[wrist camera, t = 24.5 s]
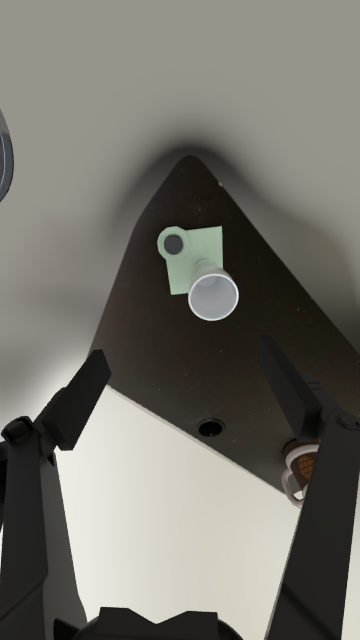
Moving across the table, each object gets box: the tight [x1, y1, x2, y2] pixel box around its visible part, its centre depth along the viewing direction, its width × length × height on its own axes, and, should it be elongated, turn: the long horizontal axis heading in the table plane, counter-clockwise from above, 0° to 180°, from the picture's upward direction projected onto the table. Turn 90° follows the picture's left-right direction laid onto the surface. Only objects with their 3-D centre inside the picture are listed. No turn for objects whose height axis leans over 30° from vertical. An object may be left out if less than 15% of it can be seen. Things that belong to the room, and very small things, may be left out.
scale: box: [157, 226, 223, 295], centre depth 38 cm, size 13×12×3 cm
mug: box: [281, 437, 320, 509], centre depth 59 cm, size 20×15×15 cm
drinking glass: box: [188, 260, 238, 320], centre depth 32 cm, size 7×7×15 cm
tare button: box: [165, 236, 182, 254], centre depth 35 cm, size 3×3×2 cm
